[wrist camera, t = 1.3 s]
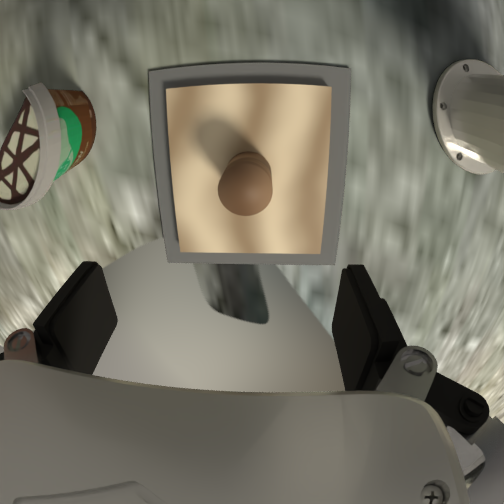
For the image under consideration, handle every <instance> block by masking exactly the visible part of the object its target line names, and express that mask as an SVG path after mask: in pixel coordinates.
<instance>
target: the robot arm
mask: <svg viewBox="0 0 504 504" xmlns="http://www.w3.org/2000/svg"><path fill="white" fill-rule="evenodd" d="M440 105H441V106H440ZM432 108H433V121H434V126H435V131H436V134H437V137H438V140H439V142H440V144H441V146H442V148H443V150H444V151H445V153H446V154H447V155H448V157H449V158H450V159H451V160H452V161H453V162H454V163H455V164H456V165H458V166H459V167H461V168H462V169H464V170H466V171H469V172H471V173H475V174H487V173H490V172H493V171H495V170H498V171H500V172H502V173H503V174H504V75H501V74H500V73H499V72H498V71H497V70H496V69H495V68H493V67H492V66H491V65H489V64H487V63H485V62H483V61H479V60H473V59H467V60H460V61H457V62H455V63H453V64H451V65H450V66H449V67H448V68H446V69H445V71H444V72H443V73H442V75H441V76H440V78H439V80H438V82H437V84H436V88H435V92H434V96H433V106H432ZM116 325H117V316H116V312H115V309H114V306H113V303H112V300H111V297H110V293H109V291H108V287H107V284H106V281H105V277H104V274H103V270H102V267H101V266H100V265H98V263H97V262H90V261H84V262H82V263H81V264H80V266H79V267H78V268H77V269H76V270H75V271H74V273H73V274H72V275H71V276H70V277H69V278H68V280H67V281H66V282H65V283H64V285H63V286H62V287H61V288H60V289H59V291H58V292H57V293H56V294H55V296H54V297H53V298H52V299H51V301H50V302H49V303H48V305H47V306H46V307H45V308H44V310H43V311H42V312H41V314H40V315H39V316H38V318H37V319H36V320H35V322H34V323H33V326H34V328H35V331H34V333H33V332H32V331H31V330H30V329H27V328H22V329H19V330H16V331H14V332H13V333H12V334H10V335H9V336H8V338H7V339H6V341H5V343H4V352H3V353H1V354H0V504H503V502H504V424H503V423H502V422H501V421H500V420H499V419H498V418H497V417H496V416H495V417H494V418H493V419H492V418H491V417H490V416H489V406H488V404H487V402H486V400H485V399H484V398H483V397H482V396H481V395H479V394H478V393H476V392H474V391H472V390H470V389H468V388H466V387H464V386H463V385H461V384H459V383H457V382H455V381H453V380H451V379H449V378H447V377H445V376H443V375H441V374H439V373H438V372H437V366H438V365H437V361H436V359H435V357H434V355H432V354H431V353H430V352H429V351H428V350H426V349H424V348H422V347H419V346H407V344H406V342H405V340H404V338H403V336H402V333H401V331H400V329H399V327H398V325H397V323H396V321H395V318H394V316H393V314H392V312H391V310H390V308H389V306H388V304H387V302H386V301H385V299H383V298H380V297H379V295H378V292H377V290H376V288H375V286H374V284H373V282H372V280H371V278H370V276H369V274H368V272H367V270H366V269H365V267H364V265H348V266H347V269H343V270H342V274H341V280H340V285H339V291H338V296H337V301H336V307H335V312H334V317H333V322H332V333H333V337H334V342H335V346H336V350H337V354H338V359H339V363H340V368H341V372H342V376H343V381H344V386H345V391H329V392H328V391H327V392H275V393H273V392H271V393H270V392H232V391H231V392H230V391H213V390H200V389H187V388H176V387H167V386H159V385H151V384H143V383H136V382H129V381H123V380H117V379H111V378H105V377H100V376H94V375H92V374H93V372H94V370H95V368H96V366H97V364H98V361H99V359H100V357H101V355H102V353H103V351H104V349H105V347H106V345H107V343H108V341H109V339H110V337H111V335H112V333H113V331H114V329H115V327H116Z"/></svg>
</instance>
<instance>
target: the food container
mask: <svg viewBox="0 0 504 504" xmlns="http://www.w3.org/2000/svg"><path fill="white" fill-rule="evenodd" d="M22 91H23V93H24V94H25V95H26V98H25V100H24V103H23V105H22V108H21V110H20V112H19V114H18V116H17V118H16V120H15V122H14V124H13V125H12V127H11V129H10V131H9V133H8V135H7V137H6V138H5V141H4V143H3V145H2V147H1V150H0V209H3V210H14V209H19V208H23V207H26V206H29V205H31V204H34V203H36V202H37V201H38V200H40V199H41V198H42V197H43V196H44V195H45V194H46V193H47V191H48V190H49V188H50V186H51V185H52V183H53V181H54V180H56V179H57V178H59V177H60V176H61V175H63V174H64V173H66V172H67V171H69V170H70V169H72V168H73V167H75V166H76V165H78V164H79V163H80V162H81V161H82V160H84V159H85V158H86V156H87V155H88V154H89V152H90V150H91V148H92V146H93V143H94V139H95V135H96V117H95V112H94V109H93V106H92V104H91V102H90V100H89V99H88V97H87V96H86V95H85V94H84V92H83V91H73V90H54V89H47V88H46V87H45V86H44V84H43V83H42V82H41V83H38V84H35V85H32V86H29V88H28V89H24V90H22Z"/></svg>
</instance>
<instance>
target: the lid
mask: <svg viewBox="0 0 504 504" xmlns="http://www.w3.org/2000/svg"><path fill="white" fill-rule="evenodd" d="M331 92H332V87H328V86H316V85H300V84H267V83H251V84H219V85H202V86H190V87H179V88H170V89H166V101H167V120H168V136H169V149H170V162H171V173H172V184H173V194H174V203H175V212H176V221H177V229H178V237H179V245H180V252H205V253H280V254H320V252H321V243H322V234H323V224H324V213H325V202H326V190H327V177H328V162H329V145H330V124H331Z"/></svg>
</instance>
